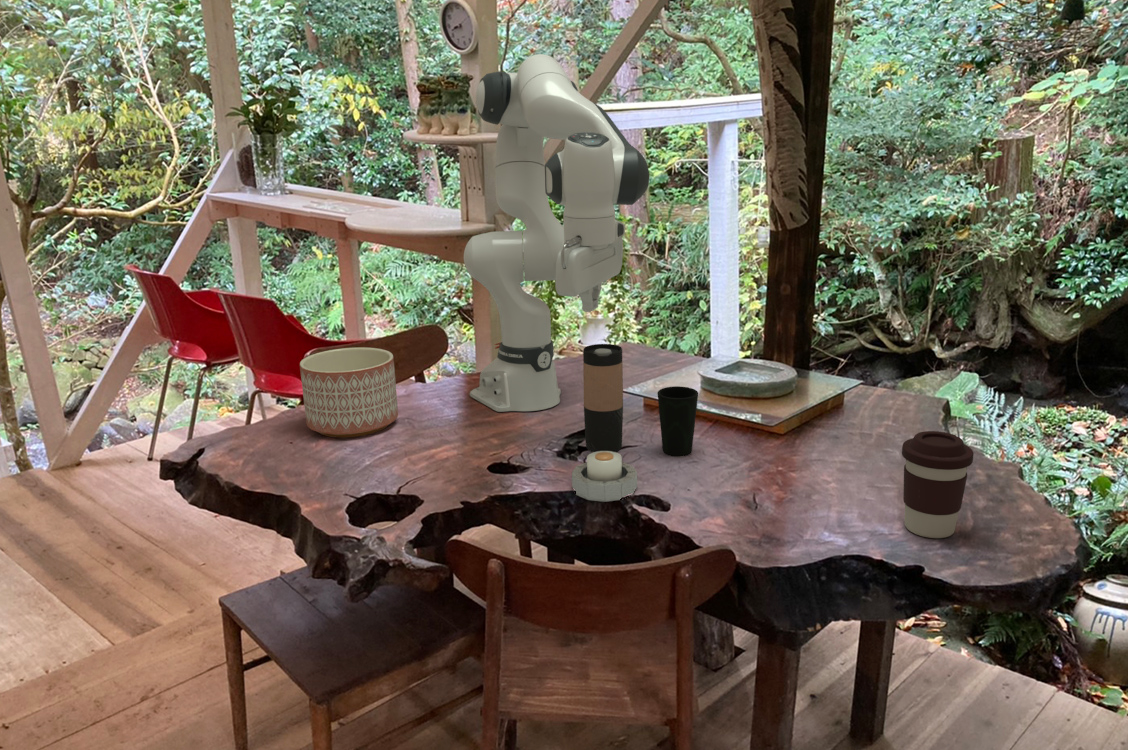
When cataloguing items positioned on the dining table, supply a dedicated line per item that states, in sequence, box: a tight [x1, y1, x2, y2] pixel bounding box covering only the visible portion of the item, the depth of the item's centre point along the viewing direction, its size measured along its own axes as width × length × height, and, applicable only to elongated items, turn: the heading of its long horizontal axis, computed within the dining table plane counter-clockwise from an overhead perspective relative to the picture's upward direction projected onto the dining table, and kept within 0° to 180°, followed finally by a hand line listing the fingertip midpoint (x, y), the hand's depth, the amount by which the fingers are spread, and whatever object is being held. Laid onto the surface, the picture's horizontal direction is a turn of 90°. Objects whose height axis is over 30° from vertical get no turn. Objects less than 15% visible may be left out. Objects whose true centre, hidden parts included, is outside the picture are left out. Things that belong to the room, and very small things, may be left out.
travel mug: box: [582, 343, 624, 453], centre depth 170 cm, size 8×8×20 cm
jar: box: [586, 451, 623, 482], centre depth 152 cm, size 6×6×5 cm
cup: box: [657, 385, 699, 458], centre depth 167 cm, size 8×8×12 cm
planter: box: [299, 346, 399, 439], centre depth 186 cm, size 19×19×15 cm
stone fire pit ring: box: [571, 461, 638, 503], centre depth 153 cm, size 11×11×3 cm
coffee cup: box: [901, 430, 975, 539], centre depth 134 cm, size 10×10×15 cm
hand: (590, 310), depth 154 cm, fingers closed
